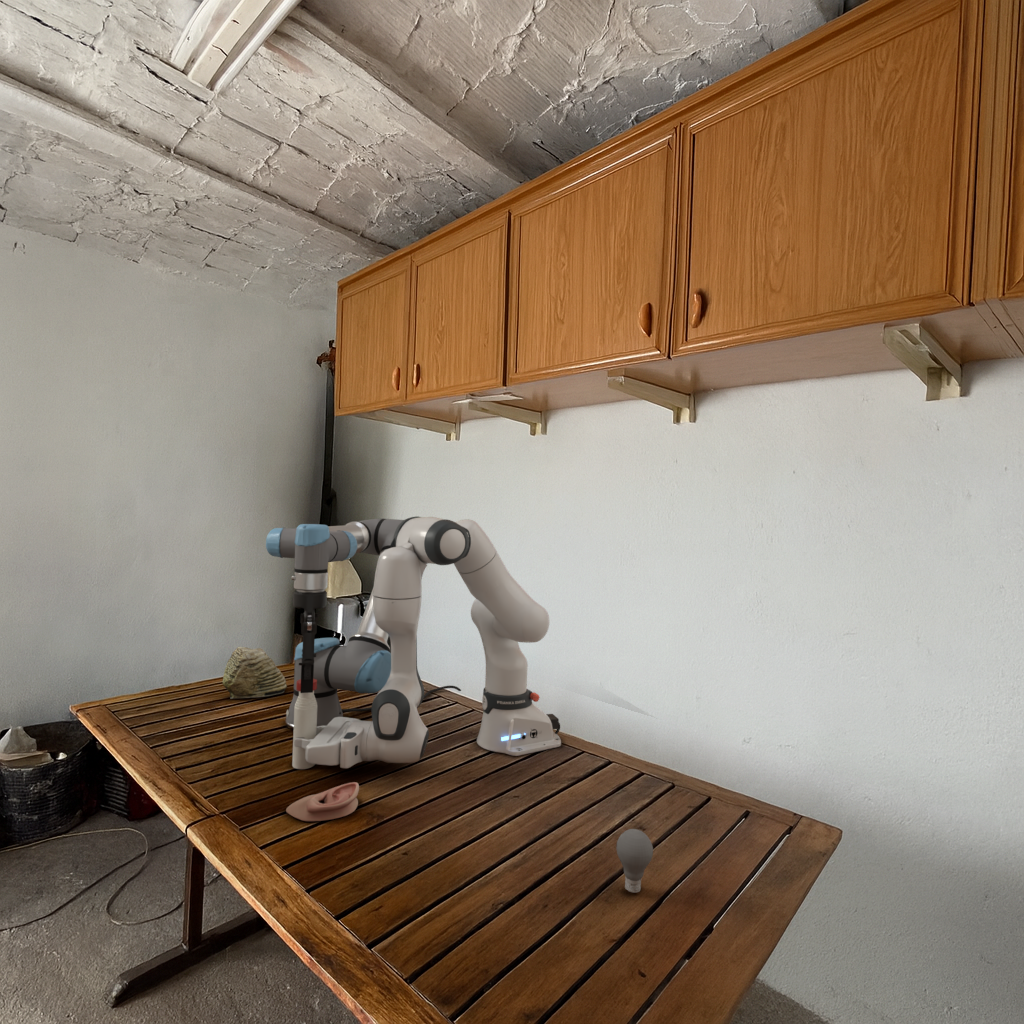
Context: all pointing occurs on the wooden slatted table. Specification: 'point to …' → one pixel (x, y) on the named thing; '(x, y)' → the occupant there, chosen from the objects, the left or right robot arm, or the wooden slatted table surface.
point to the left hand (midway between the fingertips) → (306, 688)
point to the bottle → (304, 726)
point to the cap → (300, 684)
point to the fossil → (252, 674)
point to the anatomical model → (326, 804)
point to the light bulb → (634, 857)
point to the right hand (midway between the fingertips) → (301, 736)
